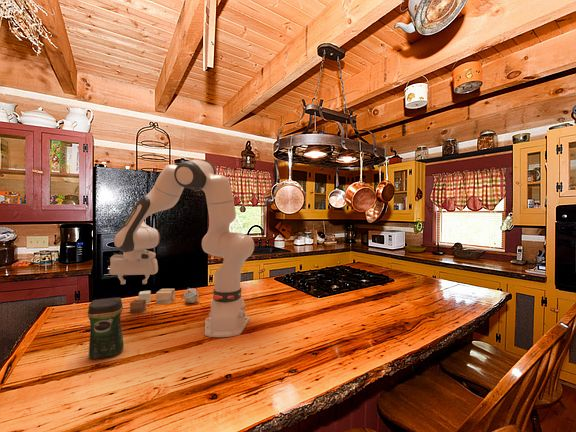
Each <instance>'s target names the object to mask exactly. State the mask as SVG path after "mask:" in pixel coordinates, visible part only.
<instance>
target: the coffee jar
mask: <svg viewBox="0 0 576 432" xmlns="http://www.w3.org/2000/svg"><path fill="white" fill-rule="evenodd" d="M122 302H123V301H122V298H121V297H120V296H119V297H109V298H100V299H94V300H92V301H91V302H89V305H88V310H87V317H88V320H89V323H90V330H89V333H90V334H89V344H88V345H89V346H88V359H91V360H98V359H104V358H110V357H114V356H117V355H119V354H120V353H121V352H122V351H123V349H124V338H123V337H124V336H123V331H122V322H121V321H122V320H121V315H122V313H123V308H124V307H123V303H122Z"/></svg>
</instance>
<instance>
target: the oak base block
mask: <svg viewBox="0 0 576 432" xmlns="http://www.w3.org/2000/svg"><path fill="white" fill-rule="evenodd" d="M175 291H176V289H175V288H161V289H159V290H158V291H156V293H155V304H156V305H171V304H172V303H173V302H174V301H175V299H176V296H175V295H176V294H175V293H176V292H175Z"/></svg>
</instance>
